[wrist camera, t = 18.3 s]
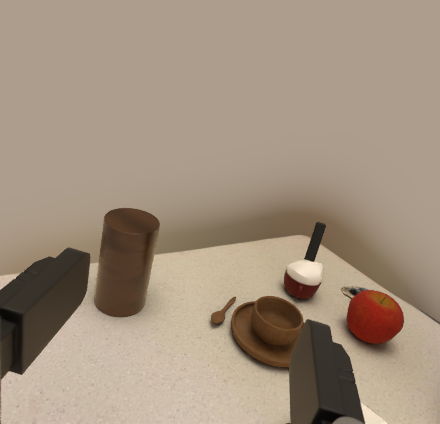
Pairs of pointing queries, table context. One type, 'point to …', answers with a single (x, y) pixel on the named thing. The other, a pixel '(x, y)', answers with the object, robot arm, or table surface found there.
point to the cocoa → (306, 269)
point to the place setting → (265, 328)
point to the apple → (374, 317)
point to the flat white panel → (371, 416)
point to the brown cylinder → (125, 261)
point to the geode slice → (352, 291)
